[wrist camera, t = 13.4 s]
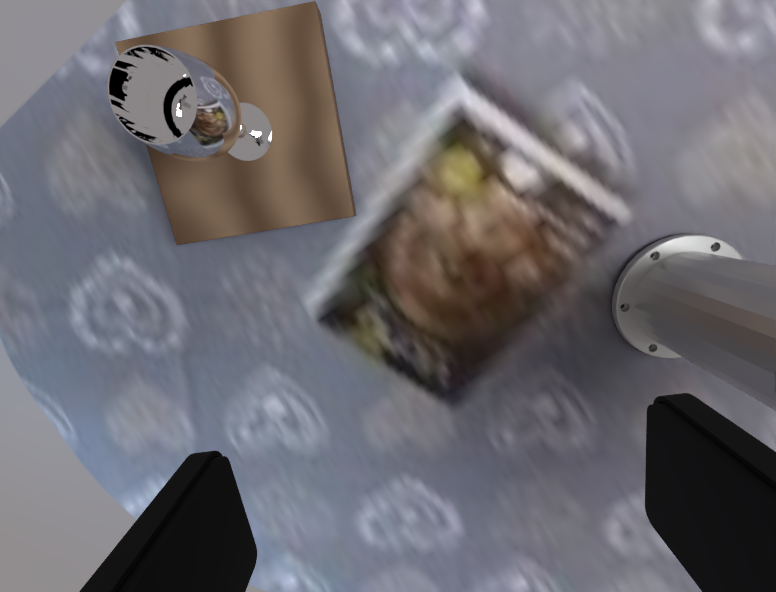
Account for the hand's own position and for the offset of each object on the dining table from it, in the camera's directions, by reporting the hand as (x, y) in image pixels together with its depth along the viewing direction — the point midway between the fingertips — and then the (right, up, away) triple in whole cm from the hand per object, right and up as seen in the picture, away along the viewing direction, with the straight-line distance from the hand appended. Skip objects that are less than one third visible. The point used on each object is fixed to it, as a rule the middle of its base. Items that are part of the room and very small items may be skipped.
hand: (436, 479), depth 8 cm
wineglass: (-13, +18, +23) cm, 31 cm away
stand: (-13, +19, +27) cm, 35 cm away
